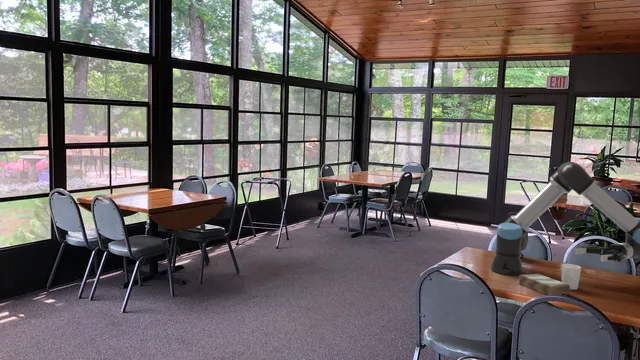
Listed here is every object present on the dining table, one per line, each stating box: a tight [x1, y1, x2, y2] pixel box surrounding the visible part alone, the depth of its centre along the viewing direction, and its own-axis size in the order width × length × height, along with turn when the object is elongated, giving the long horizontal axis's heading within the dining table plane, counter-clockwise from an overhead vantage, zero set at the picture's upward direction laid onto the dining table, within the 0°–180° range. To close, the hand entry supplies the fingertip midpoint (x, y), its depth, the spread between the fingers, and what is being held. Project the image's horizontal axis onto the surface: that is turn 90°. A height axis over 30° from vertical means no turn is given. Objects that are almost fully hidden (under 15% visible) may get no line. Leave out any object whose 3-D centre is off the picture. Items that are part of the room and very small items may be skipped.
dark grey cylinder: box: [507, 211, 529, 258], centre depth 289 cm, size 14×9×25 cm, turn 52°
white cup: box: [561, 263, 582, 291], centre depth 236 cm, size 8×8×10 cm
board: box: [518, 273, 571, 295], centre depth 232 cm, size 18×11×4 cm, turn 24°
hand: (588, 255), depth 238 cm, fingers open, 13 cm apart
